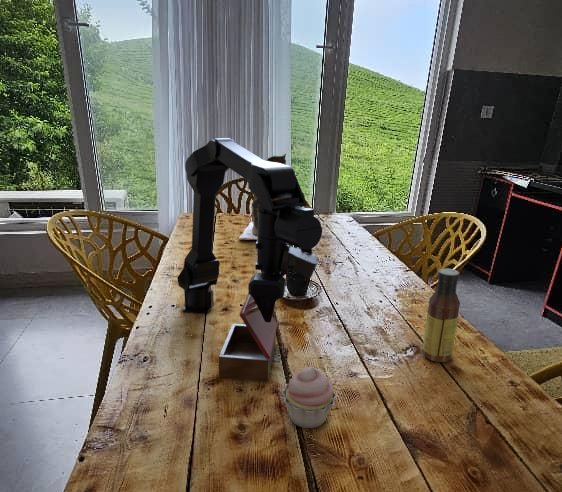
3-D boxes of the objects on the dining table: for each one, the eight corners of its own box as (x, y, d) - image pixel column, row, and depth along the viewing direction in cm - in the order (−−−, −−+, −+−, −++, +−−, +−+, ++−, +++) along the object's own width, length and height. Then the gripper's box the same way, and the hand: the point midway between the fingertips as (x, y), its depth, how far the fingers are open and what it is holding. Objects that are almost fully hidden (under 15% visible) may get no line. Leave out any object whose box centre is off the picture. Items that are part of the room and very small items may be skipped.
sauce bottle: (451, 352, 99) (468, 268, 91) (451, 366, 93) (469, 279, 86) (420, 346, 101) (435, 264, 93) (419, 360, 95) (434, 274, 88)
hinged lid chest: (218, 377, 87) (218, 356, 85) (232, 342, 99) (232, 323, 97) (267, 381, 86) (268, 360, 84) (275, 345, 98) (275, 326, 97)
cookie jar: (250, 224, 192) (251, 148, 180) (306, 229, 189) (311, 151, 177) (237, 241, 169) (237, 155, 157) (301, 246, 166) (306, 158, 154)
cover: (239, 314, 81) (263, 303, 80) (250, 286, 94) (272, 276, 92) (266, 359, 84) (290, 349, 83) (274, 325, 97) (295, 316, 95)
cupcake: (319, 444, 71) (324, 392, 67) (270, 421, 75) (272, 371, 72) (344, 412, 78) (349, 364, 75) (298, 393, 83) (301, 347, 79)
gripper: (315, 254, 73) (309, 337, 78) (317, 225, 90) (312, 295, 96) (248, 249, 74) (247, 332, 79) (263, 221, 91) (261, 291, 97)
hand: (270, 311), depth 88 cm, fingers open, 9 cm apart
